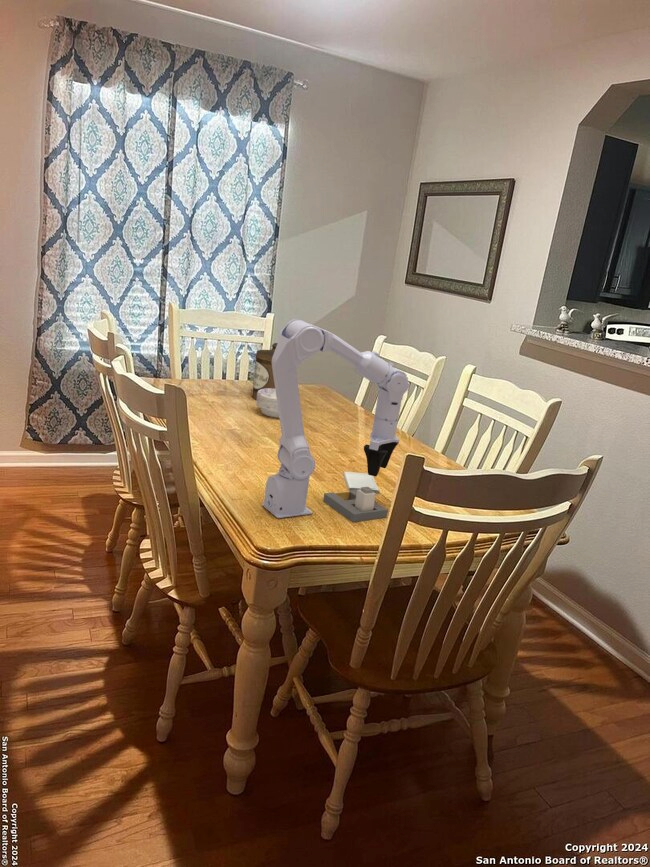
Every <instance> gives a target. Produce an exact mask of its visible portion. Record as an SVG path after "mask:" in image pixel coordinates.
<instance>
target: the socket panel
mask: <svg viewBox="0 0 650 867" xmlns="http://www.w3.org/2000/svg"><path fill="white" fill-rule="evenodd" d="M356 494H357V490H349V491H348V490H343V491H334V492H326V493H323V498H322V501H323V502H324V503H326V504H327V505H328V506H330V507H331V508H332V509H334V510H335V511H336V512H338V513H339V514H341V515H342V516H343V517H345V518H346V519H348V520H349V521H351V522H352V523H358V522H363V521H372V520H378V519H379V520H380V519H385V518H387V517H388V512H389V509H387V508H386V507H385V506H383V505H381V504H380V503H378V502H377V501H375V502H374V508H373V510H372V511H365V512H361V511H360V510H358V509H357V508H355V501H356Z"/></svg>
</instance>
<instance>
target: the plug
mask: <svg viewBox="0 0 650 867" xmlns="http://www.w3.org/2000/svg"><path fill="white" fill-rule="evenodd" d="M376 495H377V494H376V493H374V492H373V490H372V489H371V488H369V487H361V489H360V490H357V494H356V501H355V508H357V509H358V510H360V511H361V512H365V511H372V510H373V508H374V502H376V501H375V500H376Z"/></svg>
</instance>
